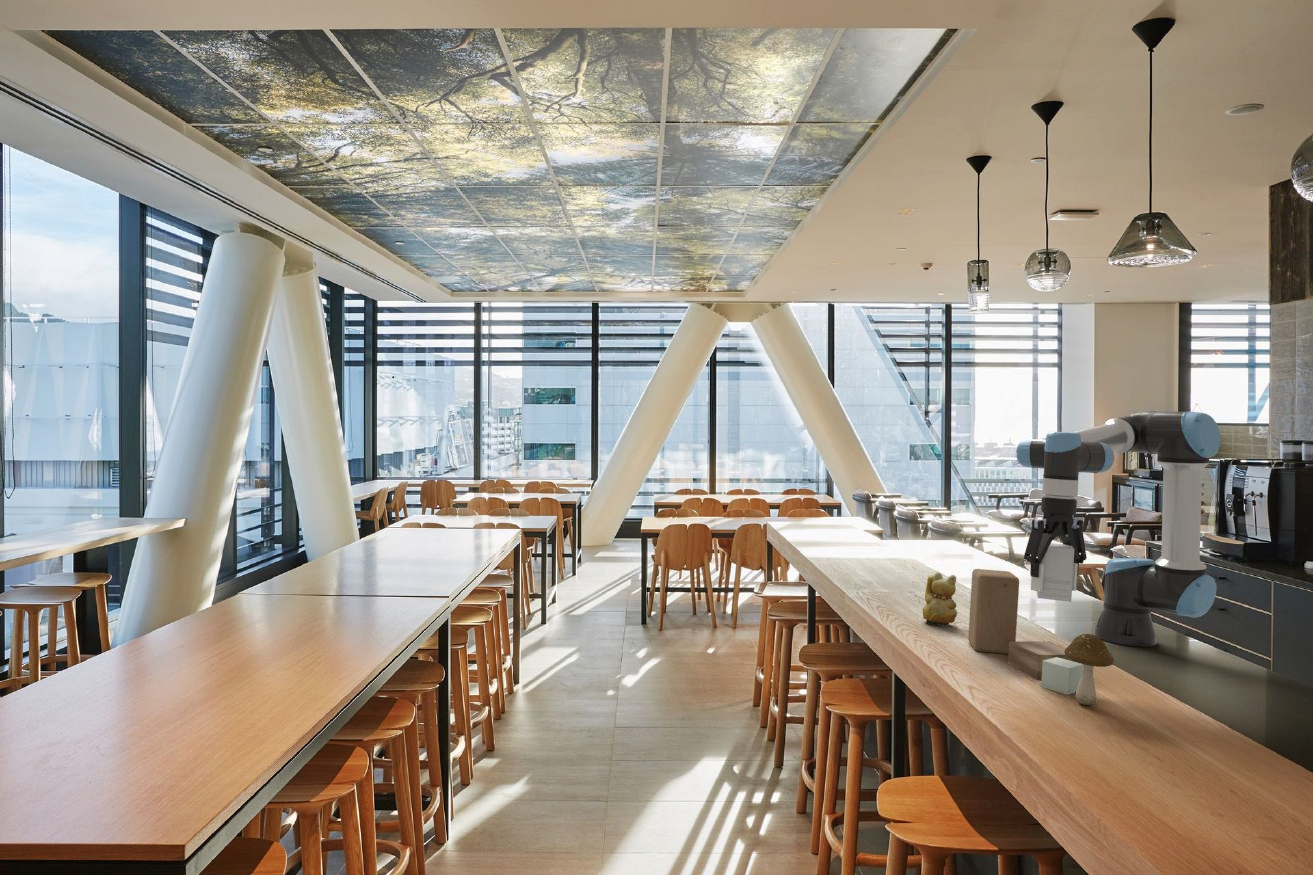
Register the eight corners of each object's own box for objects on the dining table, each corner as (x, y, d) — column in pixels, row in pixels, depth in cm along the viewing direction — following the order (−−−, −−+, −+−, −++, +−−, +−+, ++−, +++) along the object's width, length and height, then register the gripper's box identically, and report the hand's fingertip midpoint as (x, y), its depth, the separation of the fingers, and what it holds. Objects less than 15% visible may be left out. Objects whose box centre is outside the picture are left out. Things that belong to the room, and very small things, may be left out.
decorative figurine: (958, 624, 236) (961, 573, 236) (952, 630, 229) (955, 577, 229) (924, 618, 241) (927, 569, 241) (917, 624, 234) (920, 572, 234)
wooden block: (1015, 655, 206) (1020, 577, 205) (974, 651, 208) (978, 574, 207) (1006, 645, 215) (1011, 571, 215) (967, 641, 217) (971, 567, 217)
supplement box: (1069, 596, 194) (1072, 544, 193) (1071, 602, 187) (1075, 548, 187) (1035, 592, 197) (1038, 541, 196) (1036, 598, 190) (1039, 544, 190)
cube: (1055, 683, 185) (1056, 657, 185) (1081, 691, 180) (1083, 664, 180) (1041, 687, 181) (1042, 660, 181) (1067, 695, 176) (1069, 668, 176)
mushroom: (1066, 711, 166) (1071, 638, 165) (1056, 693, 177) (1061, 625, 176) (1117, 718, 163) (1121, 644, 163) (1103, 700, 174) (1108, 631, 174)
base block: (1047, 665, 199) (1049, 641, 199) (1079, 679, 189) (1080, 654, 189) (1007, 665, 197) (1009, 641, 197) (1037, 680, 187) (1038, 654, 186)
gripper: (1081, 495, 199) (1075, 585, 199) (1010, 494, 191) (1004, 588, 191) (1107, 499, 192) (1101, 592, 192) (1035, 498, 184) (1029, 595, 184)
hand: (1053, 590), depth 192 cm, fingers closed on supplement box, 10 cm apart
